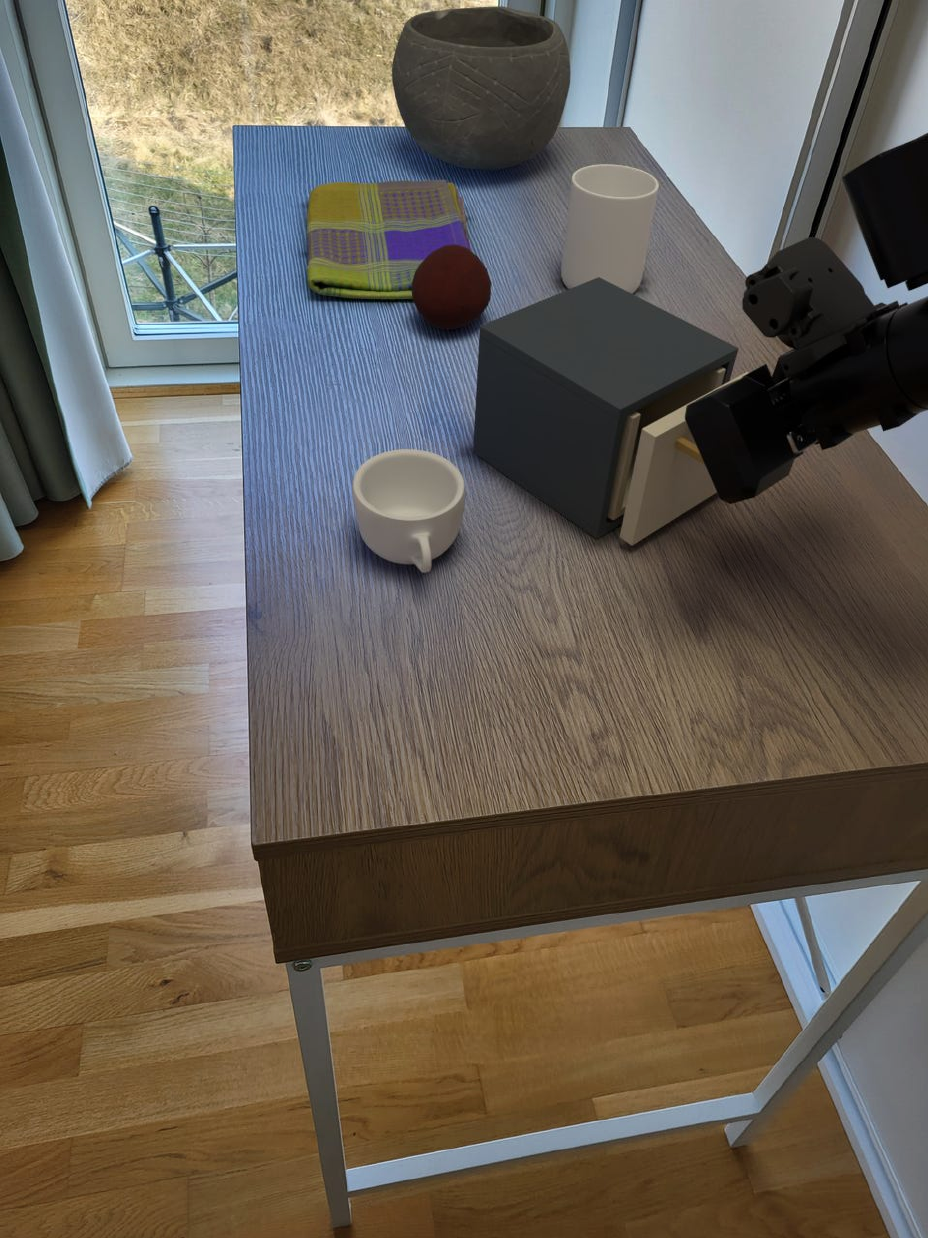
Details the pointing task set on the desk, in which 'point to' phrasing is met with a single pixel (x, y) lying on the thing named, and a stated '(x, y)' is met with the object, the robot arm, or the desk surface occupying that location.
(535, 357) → the cabinet
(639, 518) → the drawer
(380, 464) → the teacup
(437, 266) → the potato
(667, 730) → the desk surface
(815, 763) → the desk surface
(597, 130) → the desk surface
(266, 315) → the desk surface
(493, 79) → the bowl
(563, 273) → the cup
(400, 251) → the dish towel
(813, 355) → the robot arm
